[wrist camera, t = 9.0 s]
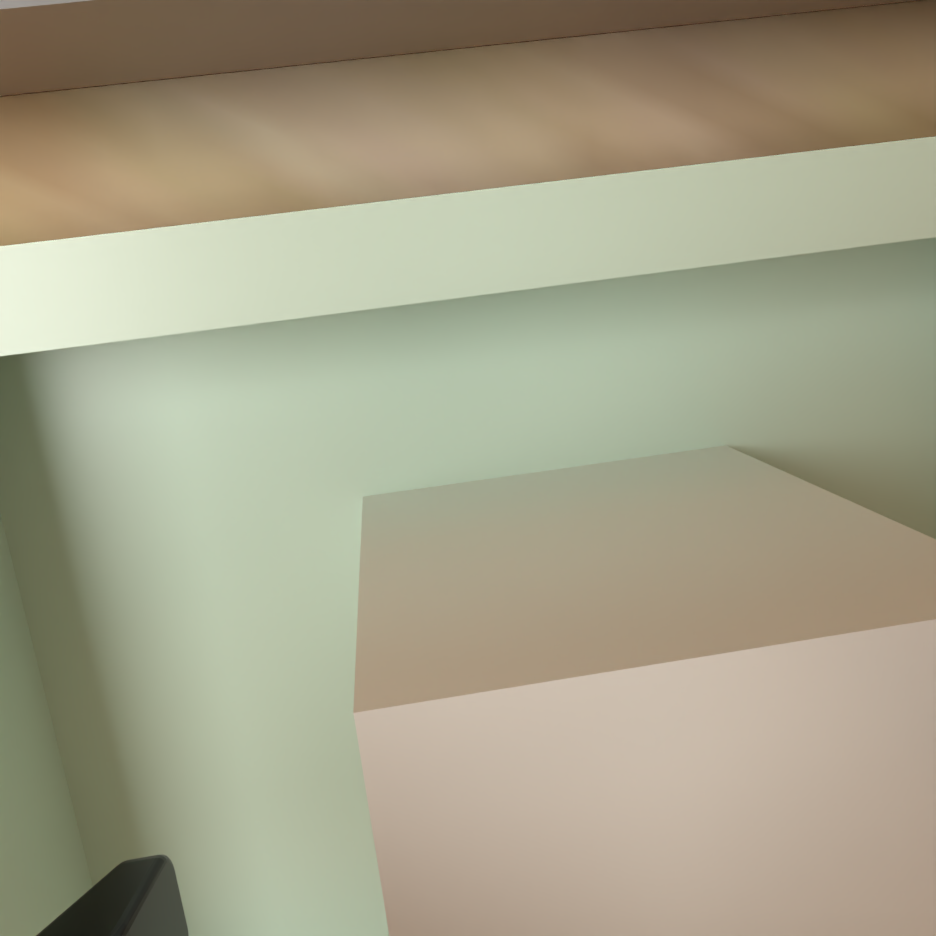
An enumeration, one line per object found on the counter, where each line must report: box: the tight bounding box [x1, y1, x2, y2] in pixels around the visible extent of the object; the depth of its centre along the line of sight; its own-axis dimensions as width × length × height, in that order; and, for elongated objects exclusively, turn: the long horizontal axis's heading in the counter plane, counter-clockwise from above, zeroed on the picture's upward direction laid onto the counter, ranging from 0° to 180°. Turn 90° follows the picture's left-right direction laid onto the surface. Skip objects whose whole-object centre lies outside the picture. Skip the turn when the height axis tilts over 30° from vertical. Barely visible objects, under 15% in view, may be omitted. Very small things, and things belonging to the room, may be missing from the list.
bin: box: [0, 136, 936, 936], centre depth 11 cm, size 16×12×3 cm
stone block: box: [353, 445, 936, 936], centre depth 9 cm, size 5×5×6 cm
